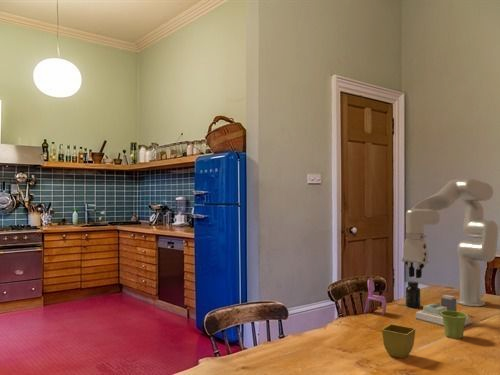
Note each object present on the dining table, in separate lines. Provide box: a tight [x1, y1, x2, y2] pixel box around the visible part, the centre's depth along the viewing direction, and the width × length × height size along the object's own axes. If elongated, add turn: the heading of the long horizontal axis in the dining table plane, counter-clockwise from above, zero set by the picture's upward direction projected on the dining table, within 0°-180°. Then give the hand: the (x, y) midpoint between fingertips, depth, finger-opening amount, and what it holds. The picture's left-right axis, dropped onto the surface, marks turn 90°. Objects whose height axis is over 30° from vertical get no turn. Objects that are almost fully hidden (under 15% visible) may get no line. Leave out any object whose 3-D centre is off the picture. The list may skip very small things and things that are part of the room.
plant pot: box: [440, 310, 468, 340], centre depth 166 cm, size 9×9×9 cm
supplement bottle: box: [405, 280, 421, 309], centre depth 210 cm, size 7×7×12 cm
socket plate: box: [415, 309, 472, 327], centre depth 185 cm, size 12×18×4 cm, turn 36°
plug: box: [440, 294, 457, 311], centre depth 197 cm, size 4×5×8 cm
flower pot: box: [381, 323, 416, 359], centre depth 146 cm, size 9×9×9 cm
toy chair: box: [363, 279, 387, 316], centre depth 199 cm, size 8×9×15 cm
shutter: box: [422, 302, 447, 315], centre depth 188 cm, size 7×7×4 cm
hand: (415, 276), depth 196 cm, fingers open, 2 cm apart
